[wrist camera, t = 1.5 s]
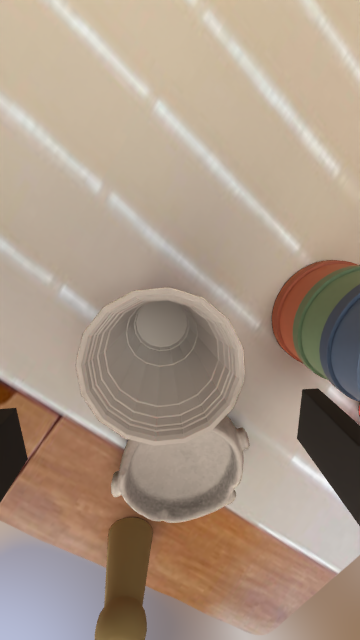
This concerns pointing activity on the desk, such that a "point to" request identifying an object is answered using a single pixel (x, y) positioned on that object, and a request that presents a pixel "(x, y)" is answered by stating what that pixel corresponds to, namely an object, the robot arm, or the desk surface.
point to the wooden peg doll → (125, 581)
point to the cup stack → (323, 322)
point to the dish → (182, 474)
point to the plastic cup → (160, 366)
